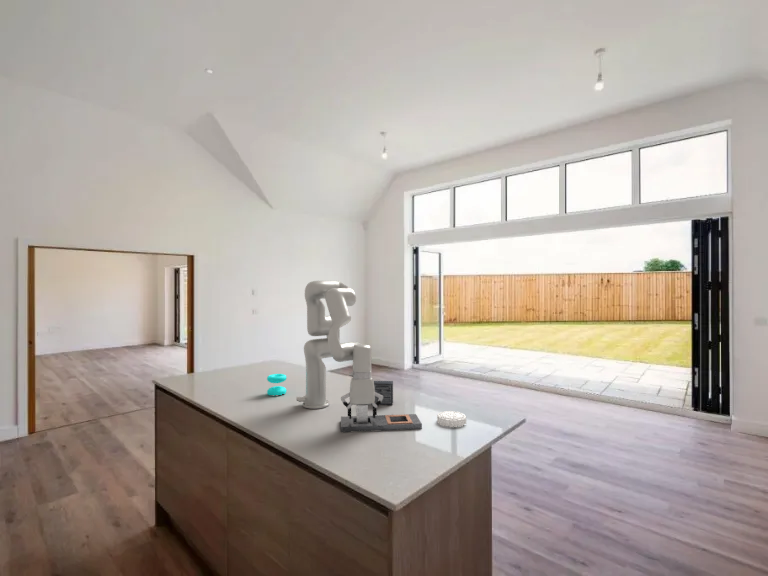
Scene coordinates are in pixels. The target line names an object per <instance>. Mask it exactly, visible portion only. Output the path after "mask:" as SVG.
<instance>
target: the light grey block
mask: <svg viewBox="0 0 768 576" xmlns="http://www.w3.org/2000/svg"><path fill="white" fill-rule="evenodd" d="M355 406H356V407H355V409H356V415H355V416H356V423H355V424H369V423H368V416H369V413H368V411H369V408H368V407H369V404H365V405H355Z"/></svg>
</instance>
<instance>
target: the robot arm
mask: <svg viewBox="0 0 768 576" xmlns="http://www.w3.org/2000/svg"><path fill="white" fill-rule="evenodd" d="M304 299H305V302H306V328H307V329H306V330H307V333H308V336H311V337H322V336H324V338H314V339H310V340H307V341H306V342H305V343H304V346H303V352H304V358H305V359H304V360H305V395H303V396H296V402H298V403H302V407H303V408H306V409H310V410H311V409H312V410H313V409H314V410H315V409H316V410H317V409H324V408H327V407H329V406H330V401H329V400H327V367H326V364H325V363H324V361H323V359H328V358H333V360H334V361H335V362H339V363H341V362H350V361H352V371H351V372H349V374H348V375H349V376H350V377H351V379H350V384H349V385H350V386H349V391H348V393H345V394H343V395H342V396H341V397H340V400H341V402H342V404H343V405H344V407H346V408H347V416H349V419H351V416H352V406H354V405H355V406H356V405H365V404H368V405H371V404H372V405H371V406H372V416H373V418H375V415H378V414H377V413H378V412H377V409H378V407H379V406H380V405H379V404H380V403H381V401H382V399H383V396H382V395H380V394H378V393H376V392H375V389H374V381H375V380H374V378H373V377H372V346H371V345H369V344H366V343H365V344H363V343H361V342H358V341H351V342H341V343H340V339H341V338H340V334H341V333H340V329H341V328H342V327H344V326H346V325H348V324H349V323H350V322H351V320H352V316H351V313H350V311H349V307H352V306H354V305H355V304H356V302H357V296H356V293H355V291H354V290H353V289H352V288H351V287H349V286H348V285H346V284H345V283H343V282H341V281H339V280H338V281H337V280H313V281H310V282H308V283H307V284H306V286H305V288H304ZM321 299H322V300H324V301H325V303H326V306H327V309H328V313H329V315H326V306H325V304H324V302H323V301H322V300H321ZM325 336H326V337H325ZM375 396H376V397H378V398H379V400H378V401H377V402H375ZM347 398H349V402H347V401H346V399H347Z"/></svg>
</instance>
